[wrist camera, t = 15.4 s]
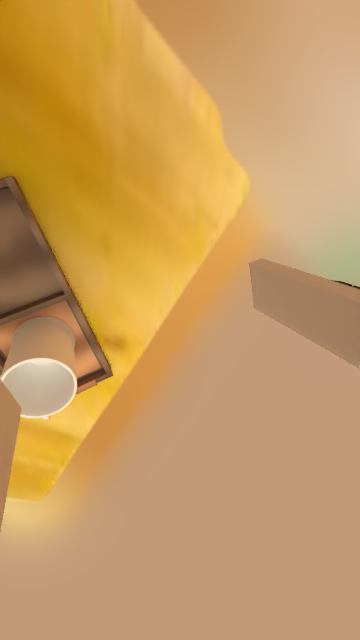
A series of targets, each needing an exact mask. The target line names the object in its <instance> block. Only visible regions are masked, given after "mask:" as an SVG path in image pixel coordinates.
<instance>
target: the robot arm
mask: <svg viewBox="0 0 360 640" xmlns="http://www.w3.org/2000/svg"><path fill="white" fill-rule="evenodd" d="M249 265H250V274H251V282H252V292H253V301H254V308H255V309H257V310H259V311H261V312H262V313H264V314H266V315H267V316H269V317H271V318H273V319H275V320H276V321H278V322H280V323H281V324H283V325H285V326H287V327H288V328H290V329H292V330H294V331H295V332H297V333H299V334H300V335H302V336H304V337H306V338H307V339H309V340H311V341H313V342H314V343H316V344H318V345H320V346H321V347H323V348H325V349H326V350H328V351H330V352H332V353H333V354H335V355H337V356H339V357H340V358H342V359H344V360H346V361H347V362H349V363H351V364H353V365H354V366H356V367H358V368H360V287H357V286H352V285H351V284H348V283H345V282H341V281H333V280H328V279H325V278H322V277H318V276H316V275H312V274H309V273H306V272H302V271H300V270H296V269H293V268H290V267H287V266H284V265H280V264H277V263H274V262H271V261H268V260H265V259H259V260H256V261H254V262H251V263H249ZM21 409H22V408H21V406H20V405H19V404H18V402H17V401H16V400H15V398H14V397H13V396H12V394H11V393H10V391H9V390H8V389H7V387H6V386H5V385H4V383H3V382H2V380H1V379H0V530H1V525H2V519H3V513H4V507H5V502H6V496H7V490H8V484H9V479H10V473H11V467H12V461H13V455H14V450H15V444H16V438H17V432H18V427H19V421H20V415H21Z"/></svg>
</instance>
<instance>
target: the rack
mask: <svg viewBox="0 0 360 640" xmlns="http://www.w3.org/2000/svg"><path fill="white" fill-rule="evenodd" d="M42 316H46V317H53V318H56V319H59V320H61V321H63V322H64V323H66V324H67V325H68V326H69V327H70V328H71V330H72V332H73V334H74V337H75V348H74V353H75V364H76V376H77V390H76V394H78V393H80V392H83V391H85V390H87V389H89V388H91V387H93V386H95V385H97V383H98V382H100V381H102V380H105V379H107V378H109V377H111V376H113V374H112V370H111V367H110V365H109V363H108V361H107V359H106V357H105V355H104V353H103V351H102V349H101V347H100V345H99V343H98V341H97V339H96V337H95V335H94V333H93V331H92V329H91V327H90V325H89V323H88V321H87V319H86V318H85V316H84V314H83V312H82V310H81V308H80V306H79V304H78V302H77V300H76V298H75V296H74V294H73V292H72V290H71V288H70V286H69V284H68V282H67V280H66V278H65V276H64V274H63V272H62V270H61V268H60V266H59V264H58V262H57V260H56V258H55V256H54V254H53V252H52V250H51V248H50V246H49V244H48V242H47V240H46V238H45V236H44V234H43V232H42V230H41V228H40V226H39V224H38V222H37V220H36V218H35V216H34V214H33V212H32V210H31V208H30V206H29V204H28V202H27V200H26V199H25V197H24V195H23V193H22V191H21V189H20V187H19V185H18V183H17V181H16V179H15V178H14V177H12V176H11V177H7V178H4V179H0V375H1V374H2V372H3V369H4V366H5V363H6V360H7V357H8V354H9V351H10V348H11V340H12V336H13V333H14V332H15V330H16V329H17V327H18V326H19V325H21V324H22V323H23V322H25V321H27V320H29V319H31V318H35V317H42ZM76 394H75V395H76Z"/></svg>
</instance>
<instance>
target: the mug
mask: <svg viewBox="0 0 360 640" xmlns="http://www.w3.org/2000/svg"><path fill="white" fill-rule="evenodd" d="M74 348H75V337H74V334H73V332H72V330H71V328H70V327H69V326H68V325H67V324H66V323H64V322H63V321H61V320H59V319H56V318H53V317H46V316H42V317H35V318H31V319H29V320H27V321H25V322H23V323H22V324H21V325H19V326H18V327H17V329H16V330H15V332H14V333H13V336H12V340H11V348H10V351H9V354H8V357H7V360H6V363H5V366H4V369H3V372H2V374H1V377H0V379H1V380H2V382H3V383H4V385H5V386H6V387H7V389H8V390H9V391H10V393H11V394H12V396H13V397H14V398H15V400H16V401H17V402H18V404H19V405H20V406H21V408H22V409H21V415H20V416H21V417H26V418H42V419H43V420H48V419H49V418H50V415H53V414H55V413H57V412H59V411H61V410H62V409H64V408H65V407H66V406H67V405H68V404H69V403H70V402H71V401H72V400H73V398H74V396H75V394H76V390H77V376H76V364H75V353H74Z"/></svg>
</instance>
